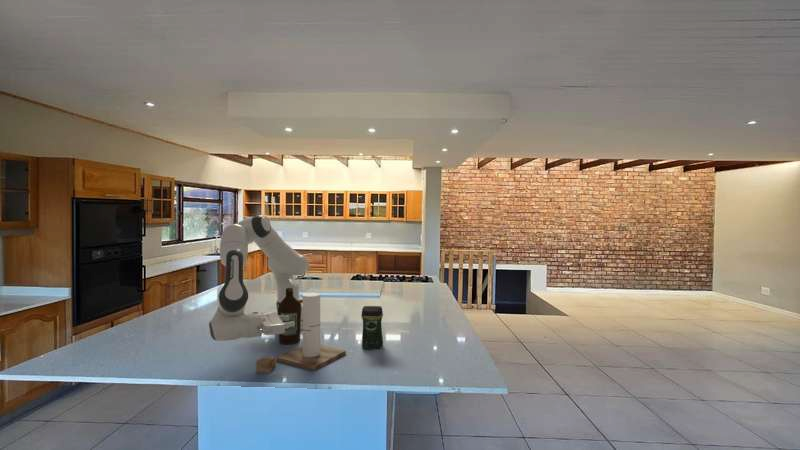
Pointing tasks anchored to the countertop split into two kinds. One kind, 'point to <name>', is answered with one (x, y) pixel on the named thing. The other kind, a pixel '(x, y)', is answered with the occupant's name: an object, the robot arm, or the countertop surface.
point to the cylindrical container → (311, 324)
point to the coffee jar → (372, 327)
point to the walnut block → (265, 364)
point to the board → (311, 363)
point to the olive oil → (293, 310)
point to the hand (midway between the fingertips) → (291, 320)
